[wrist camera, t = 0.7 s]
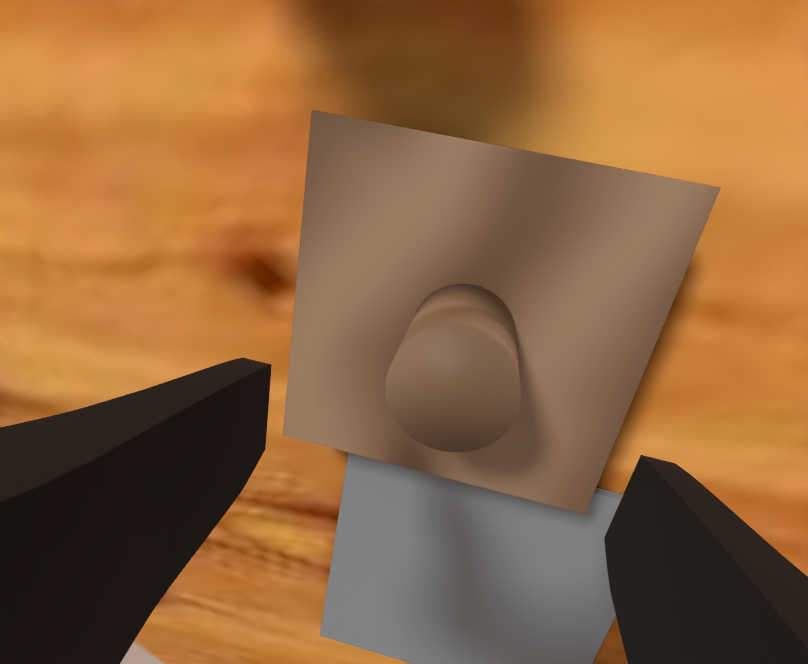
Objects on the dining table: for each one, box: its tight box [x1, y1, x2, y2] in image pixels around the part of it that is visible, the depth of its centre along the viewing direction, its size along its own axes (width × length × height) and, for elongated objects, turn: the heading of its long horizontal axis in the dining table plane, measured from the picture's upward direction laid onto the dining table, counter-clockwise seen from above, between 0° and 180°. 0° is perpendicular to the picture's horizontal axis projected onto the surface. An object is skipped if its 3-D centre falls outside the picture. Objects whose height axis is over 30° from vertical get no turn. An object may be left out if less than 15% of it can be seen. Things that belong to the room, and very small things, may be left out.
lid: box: [283, 110, 720, 514], centre depth 14 cm, size 11×11×5 cm
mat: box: [320, 453, 623, 664], centre depth 23 cm, size 13×13×1 cm
